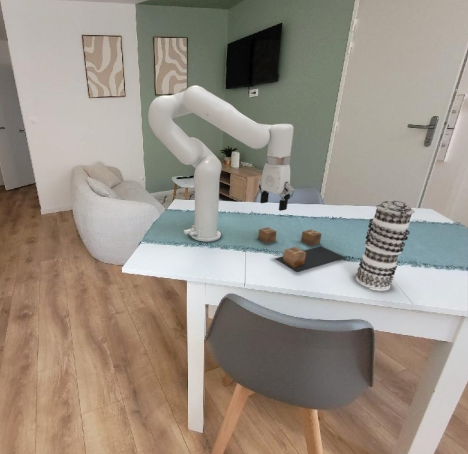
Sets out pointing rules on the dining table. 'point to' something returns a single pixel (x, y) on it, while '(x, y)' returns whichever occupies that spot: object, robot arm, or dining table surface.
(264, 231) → the brown cube
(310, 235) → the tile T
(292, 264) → the brown wooden cube
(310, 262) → the word mat
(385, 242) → the decorative candle
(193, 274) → the dining table surface
